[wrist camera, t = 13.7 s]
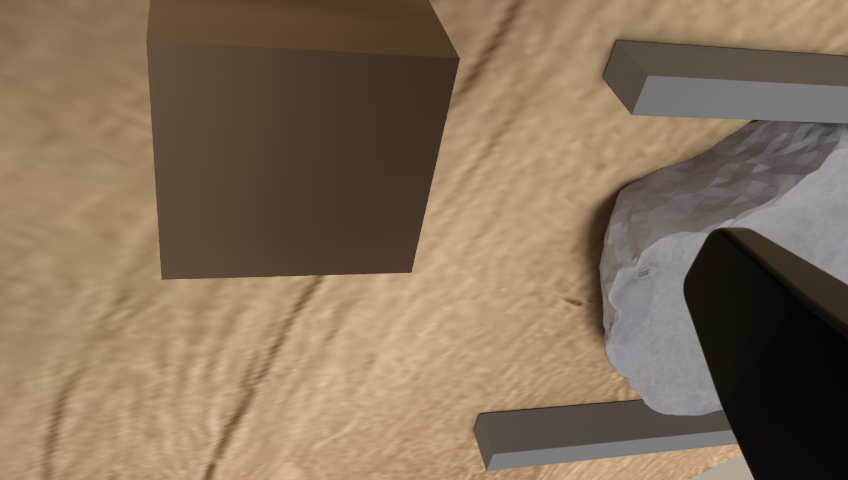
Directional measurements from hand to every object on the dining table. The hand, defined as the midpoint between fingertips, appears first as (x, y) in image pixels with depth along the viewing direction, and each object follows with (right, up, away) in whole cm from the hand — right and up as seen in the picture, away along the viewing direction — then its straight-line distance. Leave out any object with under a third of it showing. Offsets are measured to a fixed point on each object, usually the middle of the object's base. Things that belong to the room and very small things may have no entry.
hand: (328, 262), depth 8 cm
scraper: (-3, +8, +8) cm, 12 cm away
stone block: (+12, 0, +21) cm, 24 cm away
